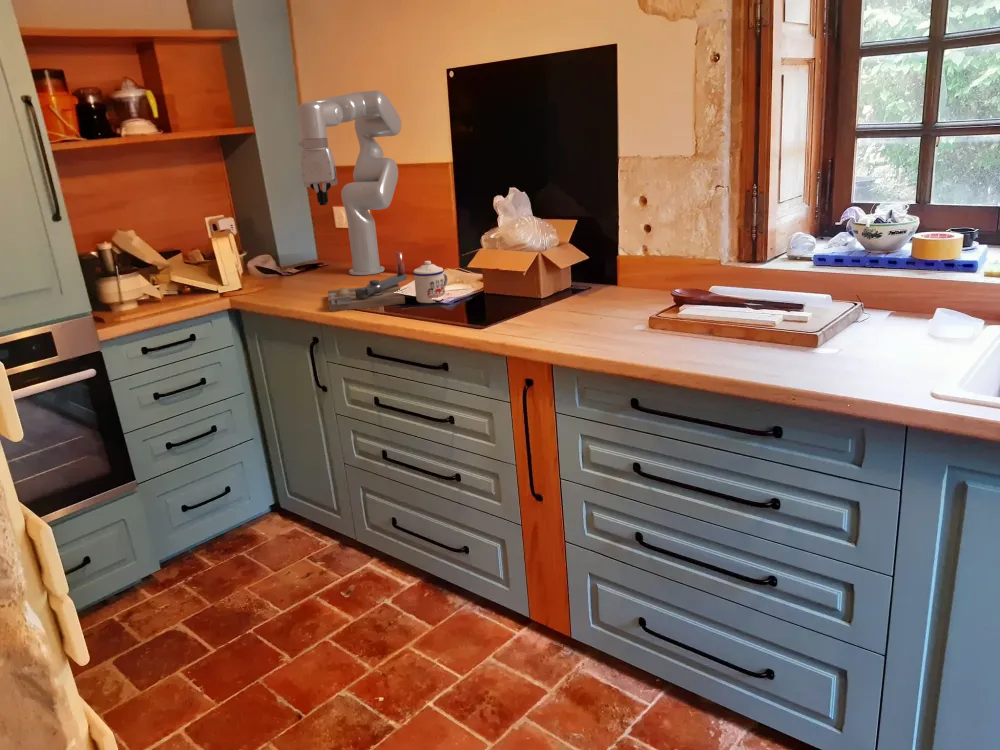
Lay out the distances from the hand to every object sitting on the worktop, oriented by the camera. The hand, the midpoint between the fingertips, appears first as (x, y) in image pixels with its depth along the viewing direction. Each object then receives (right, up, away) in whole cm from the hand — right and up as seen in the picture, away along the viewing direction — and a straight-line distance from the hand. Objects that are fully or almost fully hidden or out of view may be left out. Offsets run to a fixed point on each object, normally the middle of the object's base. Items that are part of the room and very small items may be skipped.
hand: (323, 204), depth 241 cm
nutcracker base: (+15, -32, -11) cm, 37 cm away
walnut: (+11, -33, -19) cm, 40 cm away
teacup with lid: (+37, -32, -14) cm, 50 cm away
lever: (+21, -28, -9) cm, 36 cm away
